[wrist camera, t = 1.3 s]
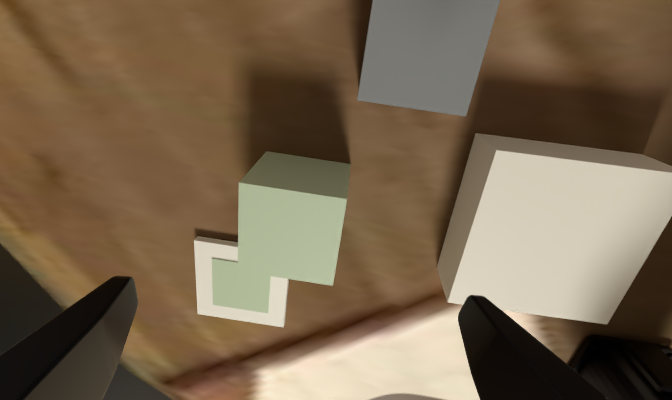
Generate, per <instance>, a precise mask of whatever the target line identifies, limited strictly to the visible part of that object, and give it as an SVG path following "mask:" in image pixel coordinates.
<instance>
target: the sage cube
mask: <svg viewBox="0 0 672 400" xmlns="http://www.w3.org/2000/svg"><path fill="white" fill-rule="evenodd" d="M350 166H351V164H347V163H340V162H334V161H327V160H321V159H314V158H308V157H301V156H294V155H288V154H281V153H275V152H268V151H266V152H265V153H264V155H263V156H262V157H261V158H260V159H259V160H258V161H257V163H256V164H255V165H254V166H253V167H252V168H251V169H250V171H249V172H248V173H247V174H246V175H245V176H244V177H243V179H242V180H241V181H240V182H239V212H238V271H241V272H248V273H254V274H261V275H267V276H273V277H280V278H286V279H293V280H299V281H306V282H312V283H318V284H325V285H331V286H333V282H334V275H335V269H336V263H337V257H338V251H339V245H340V239H341V233H342V227H343V221H344V215H345V209H346V202H347V195H348V185H349V175H350Z"/></svg>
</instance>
